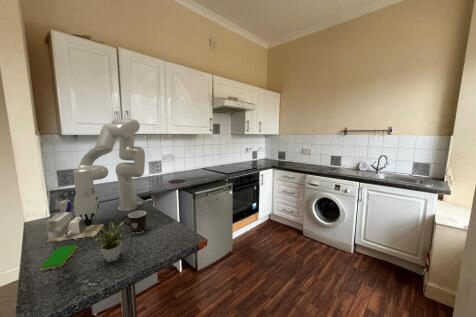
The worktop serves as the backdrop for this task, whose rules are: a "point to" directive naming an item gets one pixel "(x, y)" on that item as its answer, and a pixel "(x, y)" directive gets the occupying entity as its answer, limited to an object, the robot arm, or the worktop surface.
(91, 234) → the base
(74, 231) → the white rectangular block
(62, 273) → the worktop surface
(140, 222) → the coffee mug
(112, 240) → the house plant
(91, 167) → the robot arm
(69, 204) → the energy drink
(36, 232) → the worktop surface
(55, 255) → the dish sponge
